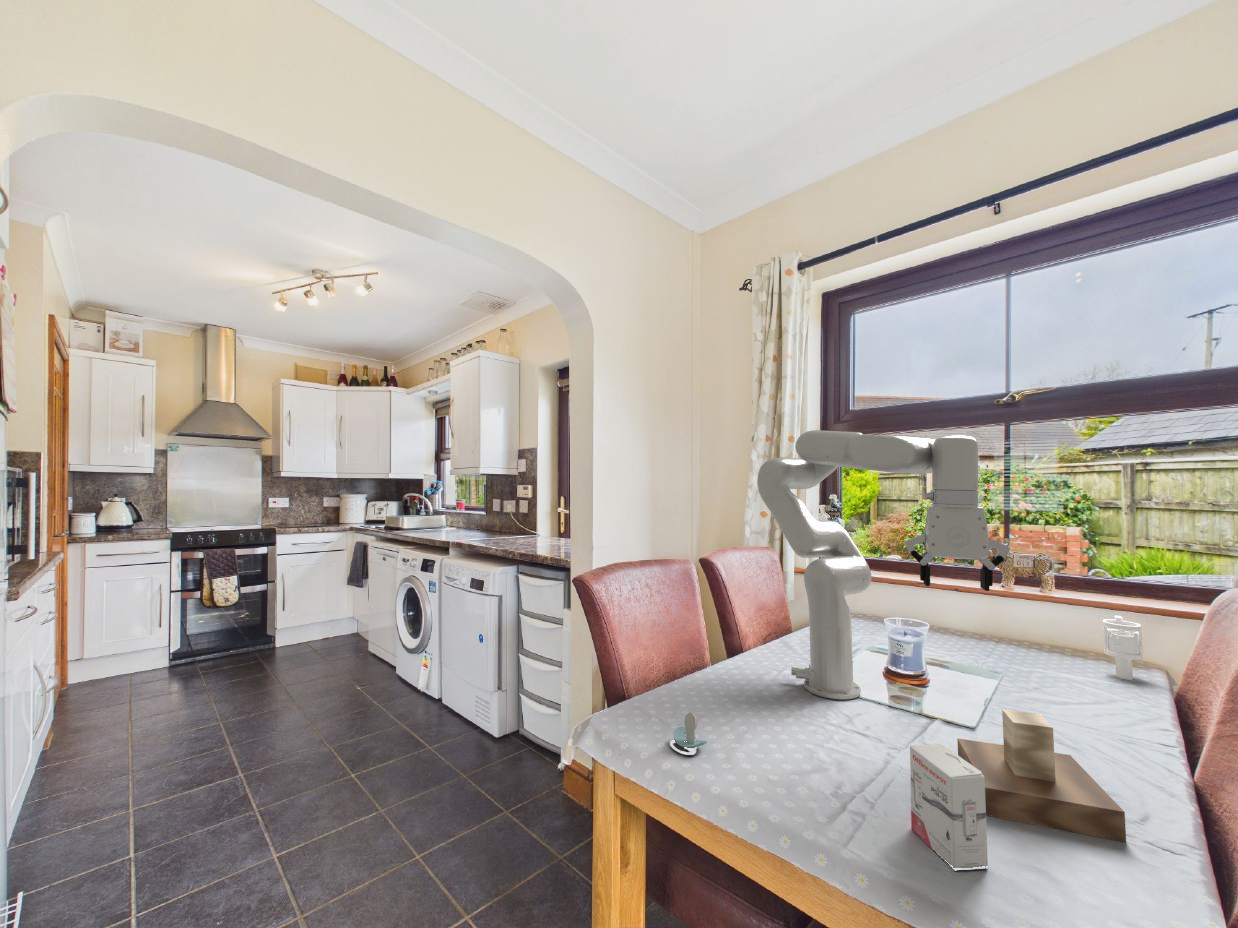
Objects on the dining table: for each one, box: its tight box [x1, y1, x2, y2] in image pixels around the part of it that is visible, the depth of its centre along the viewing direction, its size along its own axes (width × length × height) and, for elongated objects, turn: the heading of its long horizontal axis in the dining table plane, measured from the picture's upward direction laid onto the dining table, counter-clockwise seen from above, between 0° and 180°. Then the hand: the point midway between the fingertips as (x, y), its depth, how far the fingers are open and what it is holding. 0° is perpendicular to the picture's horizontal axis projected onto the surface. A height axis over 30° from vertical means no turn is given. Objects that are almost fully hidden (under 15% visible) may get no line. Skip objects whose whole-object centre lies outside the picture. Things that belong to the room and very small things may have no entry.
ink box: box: [909, 743, 989, 868], centre depth 68 cm, size 9×5×12 cm, turn 5°
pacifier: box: [672, 712, 708, 748], centre depth 95 cm, size 7×6×6 cm
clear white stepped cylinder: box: [1102, 615, 1144, 681], centre depth 130 cm, size 7×7×15 cm
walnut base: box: [956, 737, 1127, 843], centre depth 80 cm, size 16×16×4 cm
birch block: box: [1001, 708, 1056, 782], centre depth 80 cm, size 5×5×8 cm
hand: (955, 587), depth 99 cm, fingers open, 9 cm apart
